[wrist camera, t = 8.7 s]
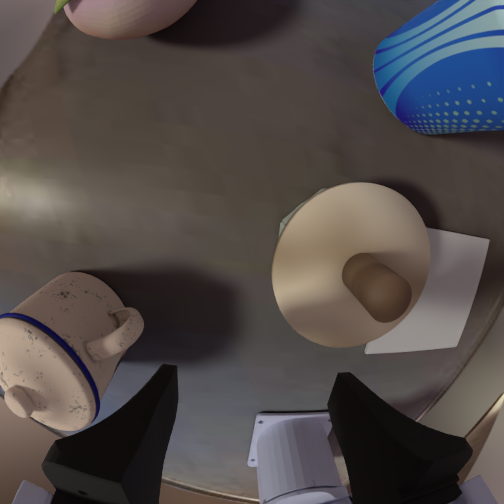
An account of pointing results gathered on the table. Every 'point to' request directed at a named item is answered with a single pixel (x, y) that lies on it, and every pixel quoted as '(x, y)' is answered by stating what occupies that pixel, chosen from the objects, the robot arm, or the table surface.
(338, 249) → the lid
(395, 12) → the table surface
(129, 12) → the decorative fruit
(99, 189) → the table surface
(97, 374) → the teacup with lid
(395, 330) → the mat
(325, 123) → the table surface
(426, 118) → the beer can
